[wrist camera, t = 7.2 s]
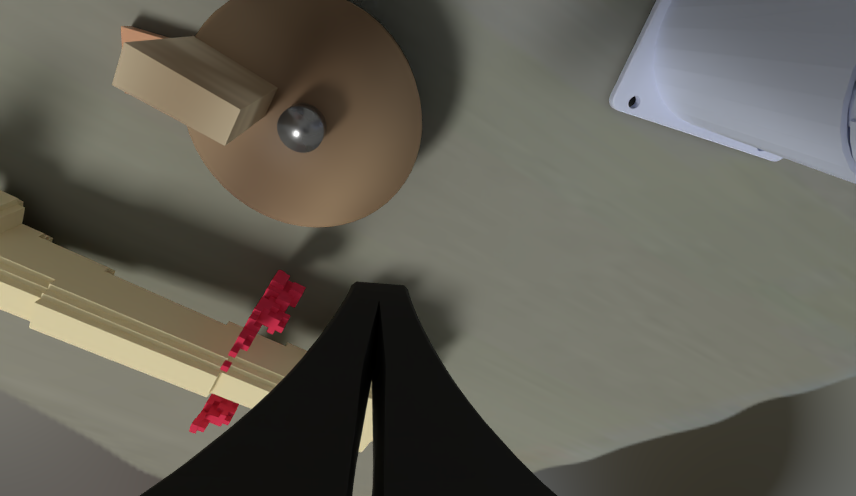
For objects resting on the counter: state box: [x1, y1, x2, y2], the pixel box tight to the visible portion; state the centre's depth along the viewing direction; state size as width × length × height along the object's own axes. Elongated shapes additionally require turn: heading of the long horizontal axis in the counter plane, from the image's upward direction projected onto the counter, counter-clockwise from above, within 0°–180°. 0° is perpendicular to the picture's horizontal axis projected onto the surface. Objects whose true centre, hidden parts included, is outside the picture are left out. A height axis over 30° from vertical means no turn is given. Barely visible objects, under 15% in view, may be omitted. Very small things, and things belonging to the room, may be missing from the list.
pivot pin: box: [277, 103, 327, 153], centre depth 15 cm, size 2×2×1 cm
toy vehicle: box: [0, 190, 373, 452], centre depth 18 cm, size 10×9×25 cm
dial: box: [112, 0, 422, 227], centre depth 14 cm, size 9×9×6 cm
